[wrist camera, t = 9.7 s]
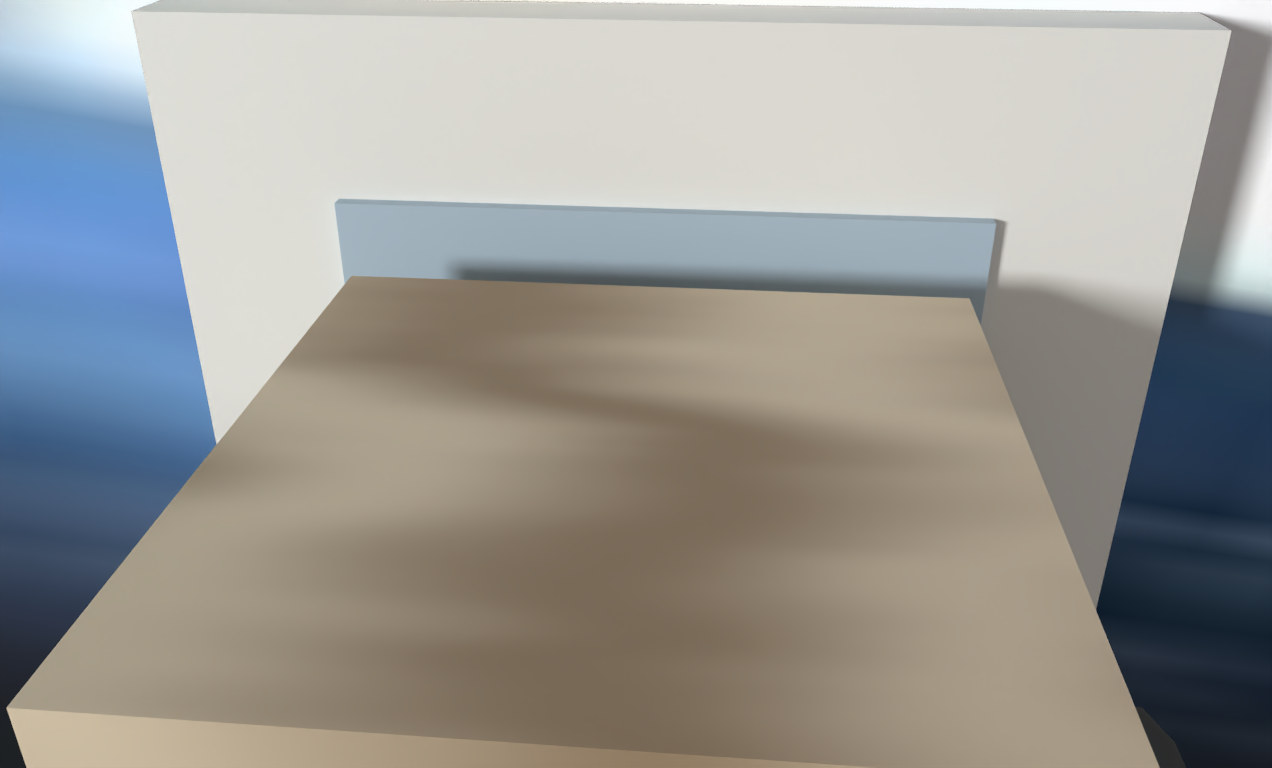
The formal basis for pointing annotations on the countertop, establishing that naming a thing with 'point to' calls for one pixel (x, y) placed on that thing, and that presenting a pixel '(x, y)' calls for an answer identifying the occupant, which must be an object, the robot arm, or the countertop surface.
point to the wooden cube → (602, 551)
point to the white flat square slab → (702, 175)
